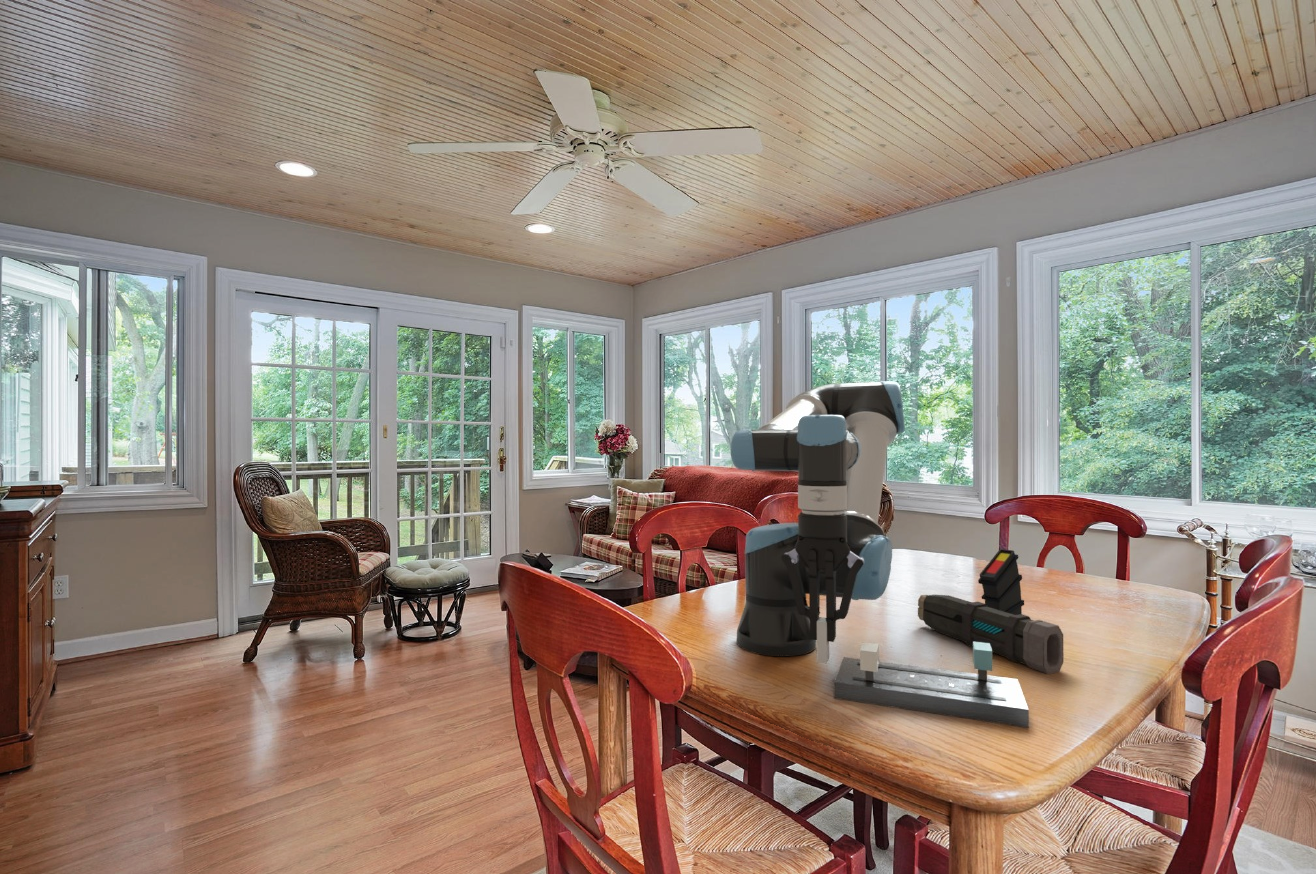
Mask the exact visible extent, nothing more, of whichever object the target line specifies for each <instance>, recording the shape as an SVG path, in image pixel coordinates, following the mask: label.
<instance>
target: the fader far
mask: <svg viewBox="0 0 1316 874" xmlns="http://www.w3.org/2000/svg"><path fill="white" fill-rule="evenodd" d="M972 662H973V666H974V667H973V668H974V670H977V674H978V679H982V680H987V675H988V671H989V672H993V652H992V649H991V646H990V643H982V642H973V647H972Z"/></svg>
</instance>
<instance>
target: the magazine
mask: <svg viewBox="0 0 1316 874" xmlns="http://www.w3.org/2000/svg"><path fill="white" fill-rule="evenodd" d="M1018 559H1019V554H1016V553H1015V550H1012V549H1011V550H1010V549H1006V548H1005V549H1003V548H1000V549H999V550H998V551H997V552H996V553H995V554H994V556H993V557H992V558H991V560H990V561H989V562H988V563H987V564H986V565H985V567H984V568H983V569H982V571H981V572H980V573H979V578H978V579H977V582H978V584H981V586H982V589H983V594H982V595H981V599H982V600H984V604H986V605H987V606H988V607H990V608H993V609H996V610H1000V611H1003V612H1007V613H1010V614H1013V615H1019V614H1023V612H1022V610H1023V609H1022V607H1023V606H1025V600H1024V599H1022V590H1021V589H1022V587H1021V581H1022V579H1023V576H1022V574H1021V573H1019V566H1018V562H1017V560H1018Z"/></svg>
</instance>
